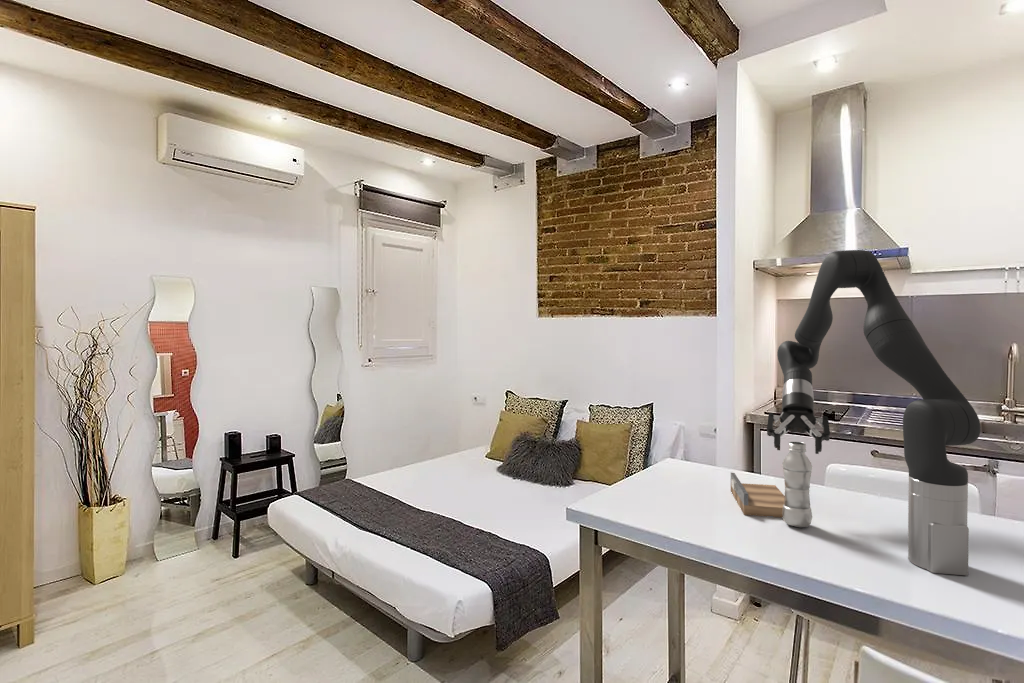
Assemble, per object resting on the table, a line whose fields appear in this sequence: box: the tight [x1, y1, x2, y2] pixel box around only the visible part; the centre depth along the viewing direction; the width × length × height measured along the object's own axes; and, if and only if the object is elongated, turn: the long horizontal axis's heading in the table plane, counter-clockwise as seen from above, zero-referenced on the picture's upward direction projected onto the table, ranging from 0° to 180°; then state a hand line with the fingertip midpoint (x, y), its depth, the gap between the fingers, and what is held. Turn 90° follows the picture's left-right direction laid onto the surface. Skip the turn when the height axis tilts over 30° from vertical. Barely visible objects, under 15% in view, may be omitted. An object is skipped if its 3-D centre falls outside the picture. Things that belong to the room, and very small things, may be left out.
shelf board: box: [730, 482, 785, 518], centre depth 142 cm, size 20×12×2 cm, turn 166°
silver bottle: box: [782, 441, 813, 528], centre depth 126 cm, size 6×7×20 cm
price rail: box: [730, 472, 748, 505], centre depth 144 cm, size 20×2×3 cm, turn 166°
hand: (797, 450), depth 132 cm, fingers open, 8 cm apart
